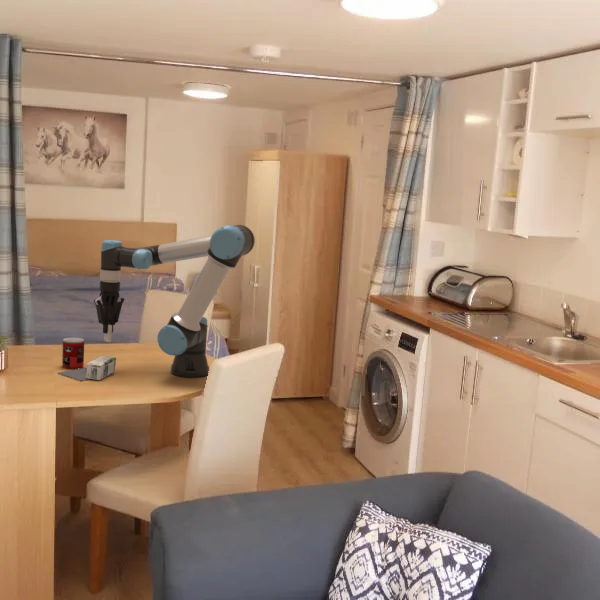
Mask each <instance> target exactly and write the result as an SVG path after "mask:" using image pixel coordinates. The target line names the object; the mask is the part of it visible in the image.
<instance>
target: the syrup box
mask: <svg viewBox="0 0 600 600" xmlns="http://www.w3.org/2000/svg"><path fill="white" fill-rule="evenodd" d="M116 363H117V357H114V356H109V355H101V356H99V357H97V358H95V359H94V360H91V361H89V362H87V363H86V367H85V368H86V378H89V379H92V380H95V381H96V380H98V381H100V380H102V379H104V378H106V376H107V375H109V374H111V373H112V374H113V373H115V372H116ZM107 377H108V376H107Z"/></svg>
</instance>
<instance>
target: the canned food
mask: <svg viewBox="0 0 600 600" xmlns="http://www.w3.org/2000/svg"><path fill="white" fill-rule="evenodd" d="M61 357H62V360H61V361H62V368H63V369H67V370H75V369H78V368H80V369H81V368H84V364H85V362H84V361H85V360H84V358H85V339H84V338H81V337H65V338H63V339H62V356H61Z"/></svg>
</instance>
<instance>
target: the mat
mask: <svg viewBox="0 0 600 600" xmlns="http://www.w3.org/2000/svg"><path fill="white" fill-rule="evenodd" d="M58 373H59V374H58V375H60V374H62V375H61V376H63V375H65V376H64V377H66V376H68V377H67V378H69V377H71V378H70V379H72V378H74V379H73V380H75V379H77V380H76V381H78V380H80V381H79V382H84V381H83V380H86V381H90V380H89V378H86V367H82V368H80V369H69V370H66V371H65V370H64V371H59V372H58ZM111 375H112V376H114V375H115V374H114V373H113V372H112V373H111V374H109V375H107V377H111Z"/></svg>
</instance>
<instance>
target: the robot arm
mask: <svg viewBox="0 0 600 600" xmlns="http://www.w3.org/2000/svg"><path fill="white" fill-rule="evenodd" d="M255 243H256V237H255V235H254V233H253V231H252V230H251V229H250V228H249V227H248V226H245V225H242V224H235V225H232V224H231V225H230V224H229V225H228V224H227V225H223V226H221V227H220V226H219V228H216V229H215V230H214V231H213V233H212V235H206V236H201V237H196V238H189V239H184V240H179V241H173V242H169V243H167V242H166V243H163V244H156V245H150V246H144V247H142V246H141V247H126V246H123V242H122V241H121V240H115V239H114V240H113V239H105V240H103V241H102V242H101V248H100V250H101V251H100V272H99V273H100V275H99V276H100V277H99V278H100V282H99V291H100V293H99V295H98V298H97V299H93V303H94V304H95V308H96V315H97V322H98V323H99V324H101V325H102V333H103V342H106V343H112V337H113V335H112V334H113V332H114V326H115V325H116V324H117V323H118V322H119V318H120V314H121V311H122V306H123V303H124V302H125V298H124V297H121V295H120V290H121V282H120V281H121V278H122V277H121V275H122V274H121V273H122V271H121V270H122V268H131V269H137V270H148V269H150V268H151V266H157V265H163V264H168V263H175V262H180V261H186V260H192V259H198V258H206V257H207V260H206V262H205V264H204V265H203V267H202V269H201V271H200V272H199V274H198V277H197V278H196V280H195V282H194V283H193V285H192V287H191V288H190V291H189V293H188V295H187V296H186V298H185V300H184V301H183V303H182V305H181V307H180V309H179V310H178V311H177V312H174V313H172V315H171V317H170V319H169V321H168V322H167V324H166V325H164V326H163V327H162V328H160V329H159V331H158V334H157V337H156V338H157V343H158V346H159V349H161V351H162V352H164V353H165V354H166V355H169V356H173V360H172V364H171V365H170V374H172V375H174V376H178V377H183V378H201V377H206V376H208V375H209V374H208V371H209V372H210V366H209V365H208V364H209V362H208V359H207V355H206V354H207V353H206V351H207V336H208V326H209V325H208V318H206V317H205V316H204V315H205V313H206V311H207V310H208V307H209V306H210V304H211V303H212V301H213V299H214V298H215V295H216V293H217V291H219V288H220V287H221V284H222V283H223V281H224V279H225V278H226V275H227V274H228V273H229V270H232V269H235V268H236V267H237V265H238V263H239V261H240V259H241V258H242V257H244V256H246V255H248V254H249V253H250V252H252V250H253V249H254V247H255ZM207 374H208V375H207Z"/></svg>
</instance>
